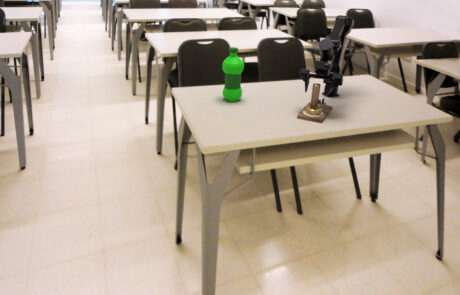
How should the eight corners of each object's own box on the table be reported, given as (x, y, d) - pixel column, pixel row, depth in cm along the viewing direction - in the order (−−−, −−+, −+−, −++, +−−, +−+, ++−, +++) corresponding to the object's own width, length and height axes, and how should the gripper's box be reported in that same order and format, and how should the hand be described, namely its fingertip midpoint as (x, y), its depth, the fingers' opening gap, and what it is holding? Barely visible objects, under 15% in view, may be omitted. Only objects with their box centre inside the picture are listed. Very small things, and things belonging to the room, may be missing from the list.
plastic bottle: (245, 102, 180) (247, 50, 169) (223, 103, 178) (224, 51, 167) (240, 95, 189) (242, 45, 178) (219, 96, 187) (220, 46, 176)
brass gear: (319, 110, 169) (322, 82, 163) (322, 115, 162) (326, 87, 156) (303, 109, 168) (307, 81, 162) (306, 115, 162) (310, 86, 156)
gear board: (309, 104, 179) (310, 92, 177) (332, 108, 175) (334, 96, 172) (297, 118, 164) (298, 105, 161) (321, 123, 160) (323, 109, 157)
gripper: (302, 50, 162) (292, 81, 158) (346, 55, 155) (336, 88, 151) (305, 64, 172) (296, 93, 168) (346, 69, 165) (337, 100, 161)
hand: (315, 93), depth 162 cm, fingers open, 9 cm apart
